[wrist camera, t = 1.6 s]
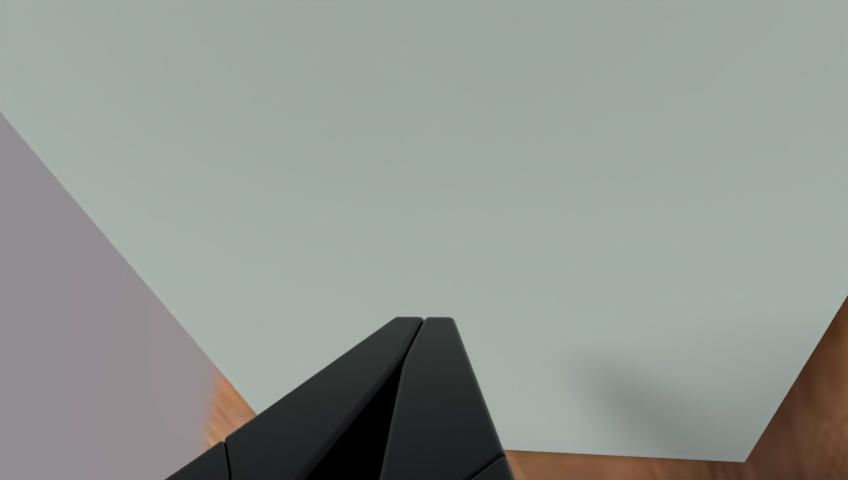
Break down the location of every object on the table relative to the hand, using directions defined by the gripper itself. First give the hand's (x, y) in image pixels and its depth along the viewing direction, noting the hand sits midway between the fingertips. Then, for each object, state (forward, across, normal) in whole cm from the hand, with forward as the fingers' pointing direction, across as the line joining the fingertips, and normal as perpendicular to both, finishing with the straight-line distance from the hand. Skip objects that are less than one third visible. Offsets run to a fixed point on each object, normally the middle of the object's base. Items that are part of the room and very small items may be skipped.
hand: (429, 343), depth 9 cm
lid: (+5, 0, +2) cm, 5 cm away
